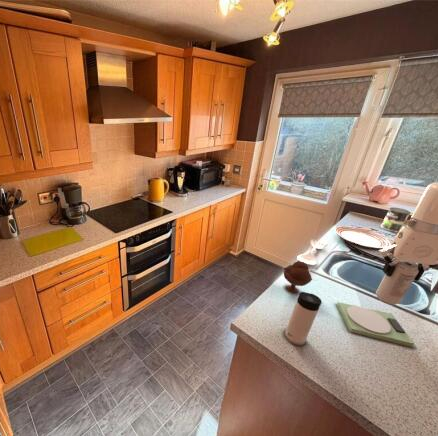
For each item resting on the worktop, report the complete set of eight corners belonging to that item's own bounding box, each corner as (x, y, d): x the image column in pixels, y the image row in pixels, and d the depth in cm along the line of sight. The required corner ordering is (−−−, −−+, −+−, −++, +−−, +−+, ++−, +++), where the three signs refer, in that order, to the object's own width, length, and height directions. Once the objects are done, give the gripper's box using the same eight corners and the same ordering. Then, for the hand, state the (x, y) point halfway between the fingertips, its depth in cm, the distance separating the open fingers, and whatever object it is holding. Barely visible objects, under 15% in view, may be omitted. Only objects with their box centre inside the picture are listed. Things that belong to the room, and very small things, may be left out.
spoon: (327, 247, 139) (329, 242, 138) (312, 270, 119) (314, 264, 118) (310, 242, 145) (312, 237, 144) (293, 262, 125) (295, 257, 124)
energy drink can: (389, 293, 80) (409, 257, 74) (404, 306, 75) (427, 269, 68) (370, 292, 81) (388, 256, 75) (383, 304, 75) (404, 267, 69)
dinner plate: (387, 239, 149) (390, 234, 147) (390, 257, 130) (392, 252, 129) (335, 226, 165) (336, 222, 164) (330, 240, 147) (332, 236, 145)
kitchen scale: (389, 317, 92) (392, 312, 91) (411, 347, 80) (415, 342, 79) (336, 305, 98) (338, 300, 97) (349, 332, 86) (352, 327, 85)
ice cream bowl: (274, 281, 112) (282, 255, 105) (299, 283, 110) (308, 257, 104) (283, 297, 102) (292, 269, 96) (310, 299, 101) (321, 272, 94)
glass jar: (391, 232, 157) (401, 213, 151) (376, 225, 166) (385, 207, 160) (405, 231, 158) (415, 212, 152) (389, 225, 167) (398, 207, 161)
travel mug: (286, 343, 82) (302, 301, 73) (283, 328, 87) (297, 287, 79) (306, 349, 80) (325, 306, 71) (302, 333, 85) (319, 292, 77)
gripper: (397, 227, 65) (372, 277, 73) (481, 236, 60) (444, 289, 68) (383, 217, 72) (361, 264, 79) (457, 224, 67) (426, 274, 74)
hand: (399, 275), depth 74 cm, fingers closed on energy drink can, 6 cm apart
